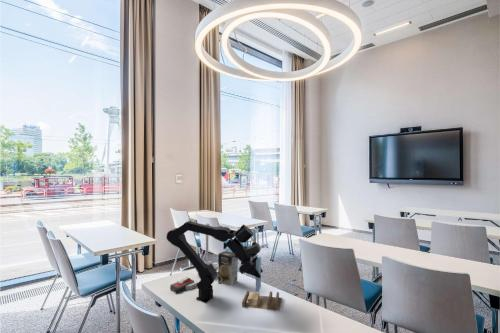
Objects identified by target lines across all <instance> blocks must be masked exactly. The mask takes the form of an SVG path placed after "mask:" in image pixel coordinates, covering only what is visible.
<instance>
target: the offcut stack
mask: <svg viewBox="0 0 500 333" xmlns="http://www.w3.org/2000/svg"><path fill="white" fill-rule="evenodd" d="M259 296H260V292H256V291H249V296H248V298H247V301H246V305H252V306H257V304H258V300H259Z"/></svg>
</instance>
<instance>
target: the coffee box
mask: <svg viewBox="0 0 500 333" xmlns="http://www.w3.org/2000/svg"><path fill="white" fill-rule="evenodd" d="M217 255H218V256H217V258H218V259H217V260H218V262H217V264H218V270H217V281H218V282H217V283H218V284H220V285H221V284H225V285H228V286H233V285H235V284H236V283H237V282H238V272H239V268H238V267H239V266H238V264H239V259H238V258H235V254H234V253H233V252H232V251H226V250H225V251H222V252H219V253H218V254H217Z"/></svg>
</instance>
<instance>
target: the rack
mask: <svg viewBox="0 0 500 333" xmlns="http://www.w3.org/2000/svg"><path fill="white" fill-rule="evenodd" d="M249 294H250V290H246V292H245V294H244V297H243V299H242V301H241V308H249V309H259V310H269V311H270V310H271V311H279V312H280V311H281V306H282V299H283V298H282V297H280V292H279V291H276V295H275V296H273V291H271V290H270V291H269V293H268V296H266V295H259V300H258V304H257V306H252V305H246V301H247V298H248V296H249Z"/></svg>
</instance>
